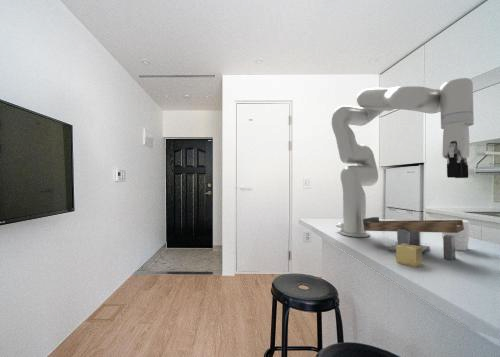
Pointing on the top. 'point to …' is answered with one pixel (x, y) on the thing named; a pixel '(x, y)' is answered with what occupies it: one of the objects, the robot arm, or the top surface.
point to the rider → (409, 255)
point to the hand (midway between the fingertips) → (458, 177)
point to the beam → (414, 225)
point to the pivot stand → (408, 239)
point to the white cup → (460, 236)
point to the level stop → (449, 247)
